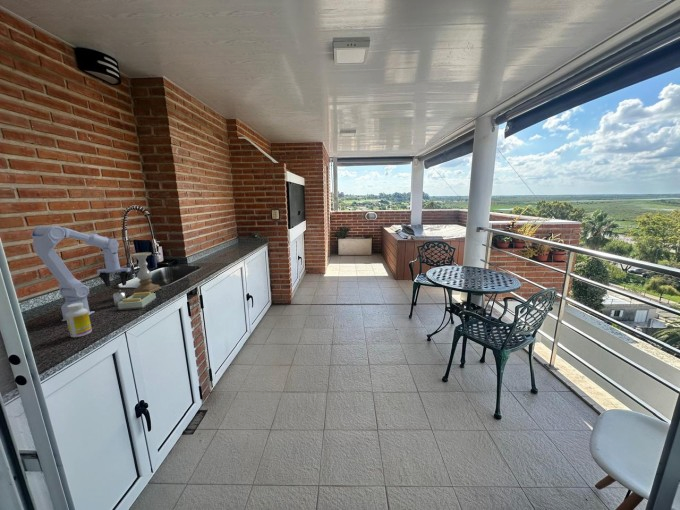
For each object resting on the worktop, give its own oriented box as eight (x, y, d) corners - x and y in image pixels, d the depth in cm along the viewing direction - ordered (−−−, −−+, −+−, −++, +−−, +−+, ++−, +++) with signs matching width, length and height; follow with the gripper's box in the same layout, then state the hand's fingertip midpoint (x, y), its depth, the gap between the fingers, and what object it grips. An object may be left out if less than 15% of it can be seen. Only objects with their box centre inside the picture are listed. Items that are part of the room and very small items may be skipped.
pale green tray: (142, 308, 140) (141, 299, 139) (118, 310, 138) (117, 301, 137) (156, 299, 153) (154, 290, 152) (134, 300, 151) (132, 292, 150)
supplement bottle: (96, 330, 116) (90, 301, 114) (82, 337, 109) (76, 307, 107) (80, 330, 116) (74, 302, 113) (65, 338, 109) (58, 308, 107)
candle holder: (144, 289, 171) (138, 252, 167) (162, 289, 171) (156, 251, 167) (131, 295, 160) (124, 255, 156) (150, 295, 160) (143, 255, 156)
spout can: (123, 305, 145) (120, 291, 143) (112, 306, 144) (110, 292, 142) (128, 302, 150) (126, 288, 148) (118, 302, 149) (116, 289, 147)
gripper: (131, 258, 150) (135, 282, 153) (101, 260, 148) (105, 284, 150) (124, 261, 144) (128, 286, 146) (92, 262, 141) (97, 288, 144)
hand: (116, 285), depth 148 cm, fingers open, 7 cm apart
